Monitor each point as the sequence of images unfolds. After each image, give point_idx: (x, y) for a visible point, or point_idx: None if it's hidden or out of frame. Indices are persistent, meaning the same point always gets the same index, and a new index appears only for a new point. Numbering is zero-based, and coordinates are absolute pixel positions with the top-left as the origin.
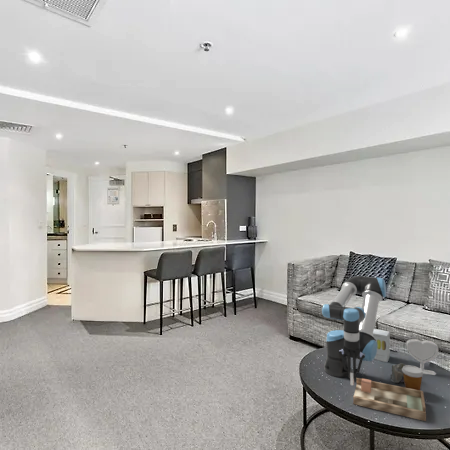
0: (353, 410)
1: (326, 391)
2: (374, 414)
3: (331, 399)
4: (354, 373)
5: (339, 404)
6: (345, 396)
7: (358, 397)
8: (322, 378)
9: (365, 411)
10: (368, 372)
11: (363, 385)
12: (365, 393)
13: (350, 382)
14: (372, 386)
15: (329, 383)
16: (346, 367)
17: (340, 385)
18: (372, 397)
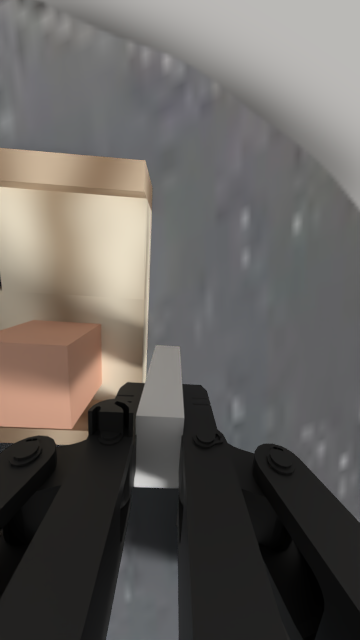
0: (146, 95)
1: (325, 285)
2: (4, 99)
3: (296, 191)
4: (110, 402)
5: (242, 143)
6: (206, 268)
7: (101, 168)
8: (344, 427)
9: (66, 117)
10: None
11: (59, 335)
12: (67, 295)
13: (178, 354)
14: None
15: (304, 387)
16: (265, 514)
17: (239, 388)
18: (10, 254)
